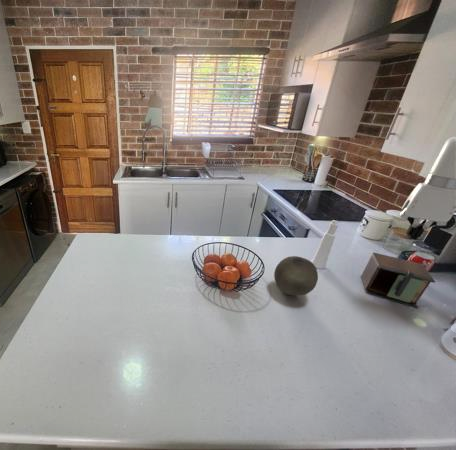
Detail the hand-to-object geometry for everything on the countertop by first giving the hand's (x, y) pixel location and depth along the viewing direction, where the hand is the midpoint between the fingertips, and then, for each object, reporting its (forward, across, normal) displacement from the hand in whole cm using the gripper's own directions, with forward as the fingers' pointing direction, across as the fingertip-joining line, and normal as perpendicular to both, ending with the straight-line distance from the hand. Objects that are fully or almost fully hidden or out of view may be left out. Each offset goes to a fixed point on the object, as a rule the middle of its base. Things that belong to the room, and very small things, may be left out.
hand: (411, 237), depth 79 cm
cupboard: (+27, -5, -10) cm, 29 cm away
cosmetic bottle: (+27, +18, -15) cm, 36 cm away
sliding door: (+26, -7, -3) cm, 27 cm away
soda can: (+27, -16, -25) cm, 40 cm away
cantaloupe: (+27, +28, +12) cm, 41 cm away
